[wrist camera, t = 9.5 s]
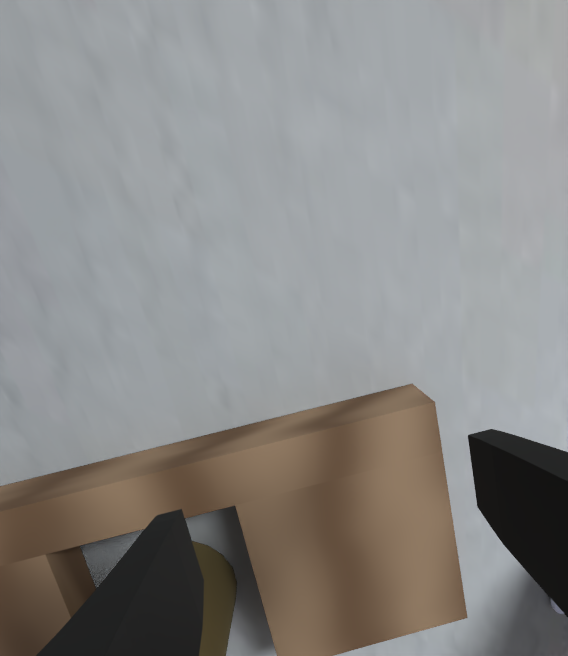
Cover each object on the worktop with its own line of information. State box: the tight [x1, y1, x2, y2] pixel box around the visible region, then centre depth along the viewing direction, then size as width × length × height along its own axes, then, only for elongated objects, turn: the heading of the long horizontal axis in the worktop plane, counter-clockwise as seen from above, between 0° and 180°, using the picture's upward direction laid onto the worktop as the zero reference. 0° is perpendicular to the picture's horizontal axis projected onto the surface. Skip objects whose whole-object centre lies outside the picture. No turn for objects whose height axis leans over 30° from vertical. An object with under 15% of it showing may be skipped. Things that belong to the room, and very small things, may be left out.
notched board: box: [0, 384, 467, 656], centre depth 20 cm, size 22×12×2 cm, turn 102°
